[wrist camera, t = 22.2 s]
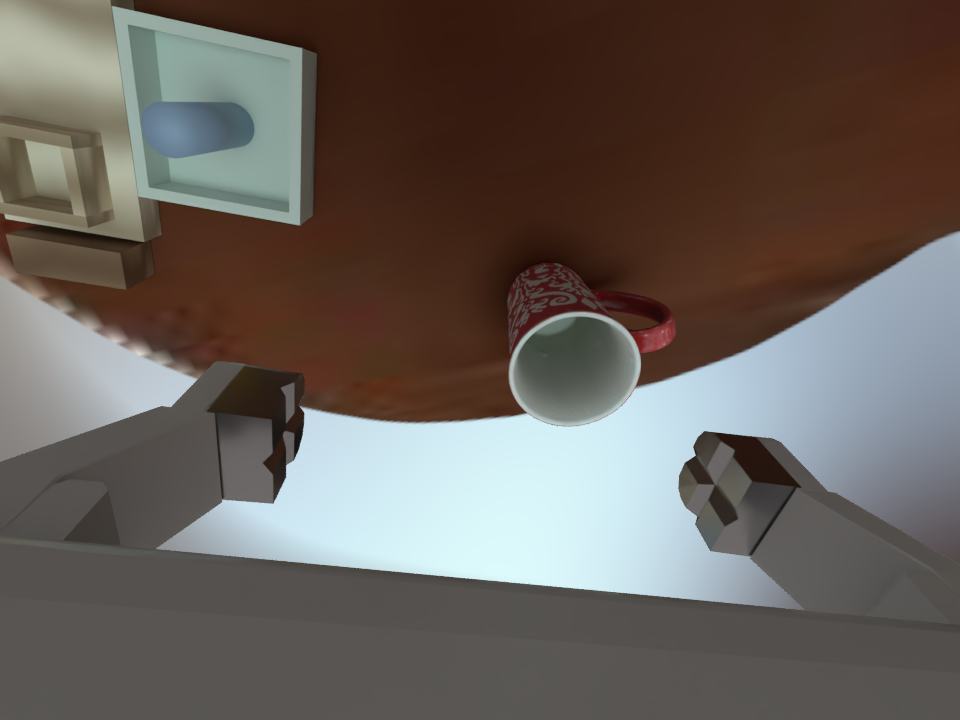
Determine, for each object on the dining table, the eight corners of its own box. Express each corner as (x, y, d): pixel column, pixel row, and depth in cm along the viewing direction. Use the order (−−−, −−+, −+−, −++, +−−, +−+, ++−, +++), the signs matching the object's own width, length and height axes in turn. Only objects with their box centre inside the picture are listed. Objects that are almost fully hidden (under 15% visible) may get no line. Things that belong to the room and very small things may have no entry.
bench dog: (46, 222, 39) (5, 234, 35) (150, 240, 40) (120, 253, 36) (55, 257, 40) (16, 272, 37) (154, 273, 41) (126, 289, 38)
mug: (506, 353, 46) (522, 439, 34) (486, 265, 42) (496, 328, 30) (635, 325, 45) (697, 403, 33) (628, 232, 41) (696, 283, 29)
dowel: (211, 98, 35) (137, 96, 27) (253, 107, 35) (193, 107, 27) (214, 142, 36) (144, 153, 28) (255, 150, 36) (198, 162, 28)
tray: (145, 15, 33) (111, 5, 30) (317, 53, 34) (302, 48, 31) (165, 188, 38) (138, 196, 35) (312, 215, 39) (299, 225, 36)
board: (-38, -73, 30) (-134, -107, 25) (129, -34, 31) (68, -59, 27) (31, 212, 39) (-30, 227, 34) (161, 234, 40) (120, 252, 35)
